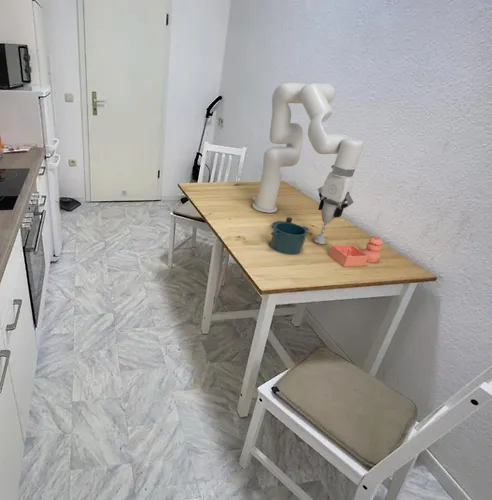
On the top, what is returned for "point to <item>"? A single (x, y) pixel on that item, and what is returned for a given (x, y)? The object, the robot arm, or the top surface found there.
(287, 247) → the pot
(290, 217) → the lid
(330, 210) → the chalice
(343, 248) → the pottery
